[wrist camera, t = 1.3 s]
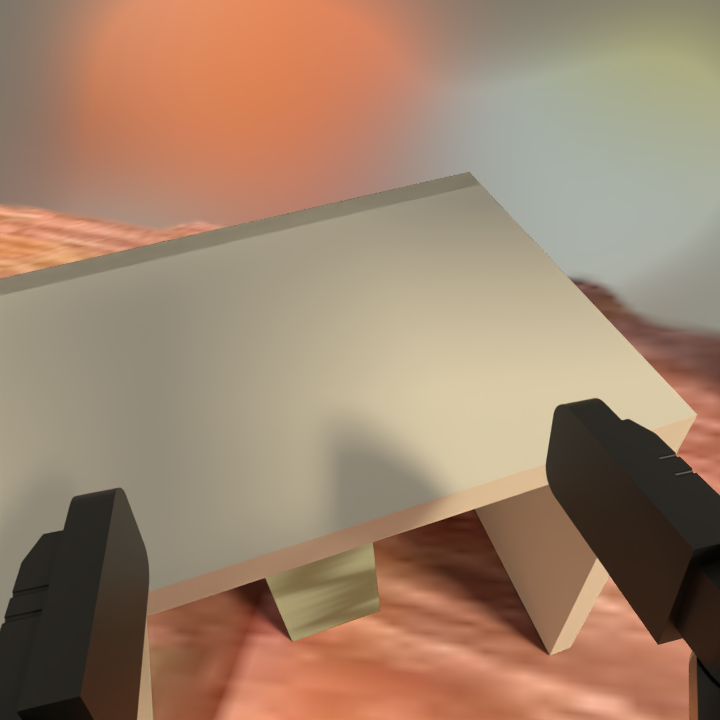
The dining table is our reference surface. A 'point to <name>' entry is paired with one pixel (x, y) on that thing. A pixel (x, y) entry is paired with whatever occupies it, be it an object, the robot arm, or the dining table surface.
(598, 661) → the dining table surface
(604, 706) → the dining table surface
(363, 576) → the sage block
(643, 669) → the dining table surface
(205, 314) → the cubby
